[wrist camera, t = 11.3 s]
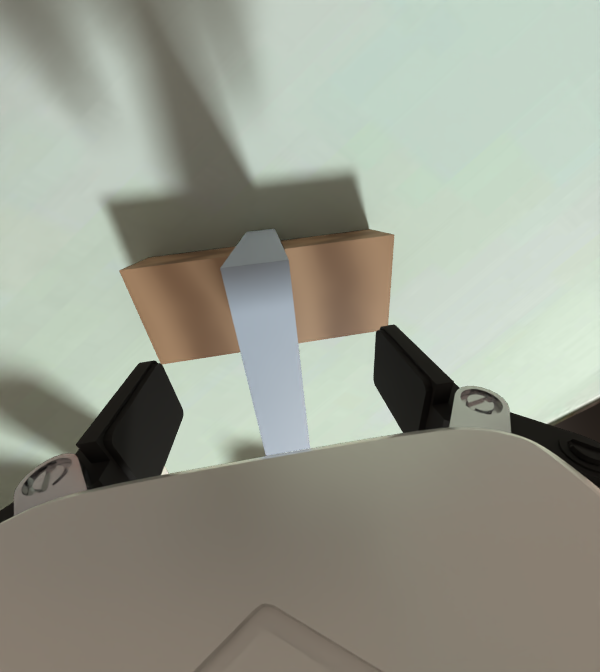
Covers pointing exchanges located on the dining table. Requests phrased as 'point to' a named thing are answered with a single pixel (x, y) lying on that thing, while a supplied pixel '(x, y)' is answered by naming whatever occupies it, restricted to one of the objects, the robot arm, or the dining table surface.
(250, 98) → the dining table surface
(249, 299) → the grey block
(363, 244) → the slotted base
